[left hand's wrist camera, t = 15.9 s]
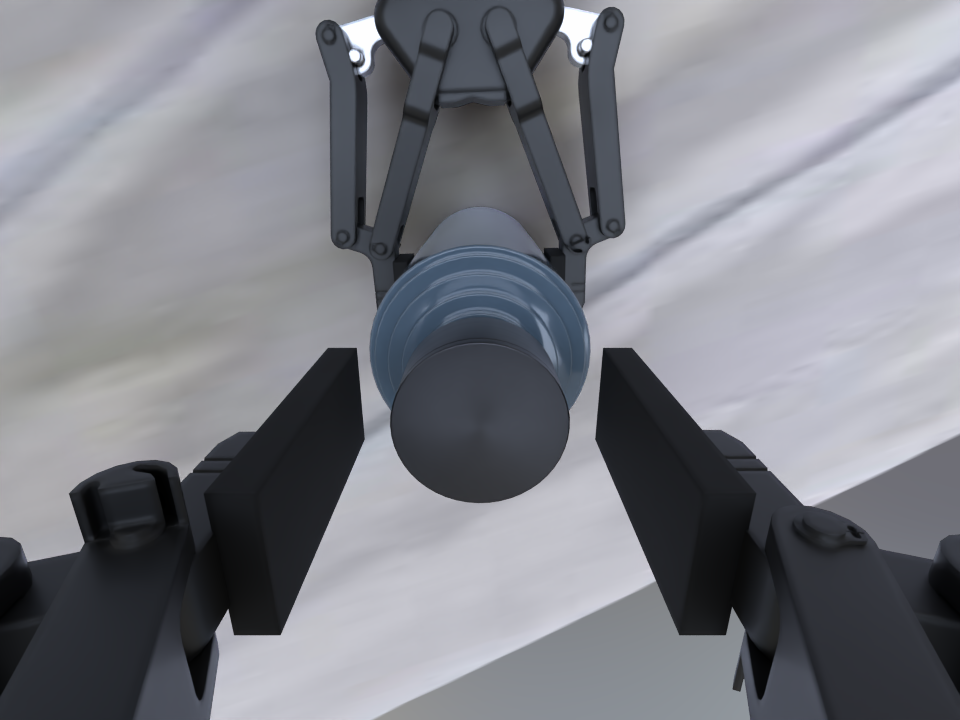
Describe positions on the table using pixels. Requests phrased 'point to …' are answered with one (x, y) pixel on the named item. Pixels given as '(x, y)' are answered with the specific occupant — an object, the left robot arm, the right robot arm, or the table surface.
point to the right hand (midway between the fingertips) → (483, 369)
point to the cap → (480, 412)
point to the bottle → (480, 297)
